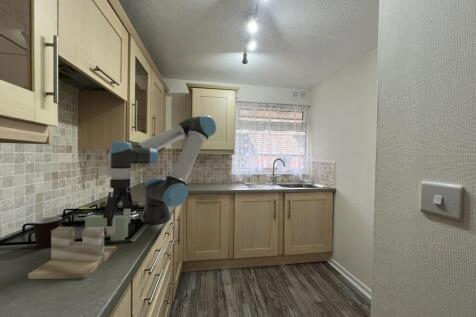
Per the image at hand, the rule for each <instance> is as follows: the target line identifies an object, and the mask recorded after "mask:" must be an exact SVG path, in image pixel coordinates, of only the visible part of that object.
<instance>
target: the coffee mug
mask: <svg viewBox="0 0 476 317" xmlns="http://www.w3.org/2000/svg"><path fill="white" fill-rule="evenodd" d="M62 220H63V217H62V216H47V217H42V218H37V219H35V220H33V221H32V227H33V233H34V238H35V244H36V248H37V249H46V248H51V230H53V229H56V228H58V227H62Z"/></svg>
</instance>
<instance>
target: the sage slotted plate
mask: <svg viewBox="0 0 476 317" xmlns="http://www.w3.org/2000/svg"><path fill="white" fill-rule="evenodd" d="M103 215H104V214H103ZM103 215H102V214H100V215H97V214H96V215H95V214H94V215H93V214H92V215H91V214H90V215H87V216H85V218H84V229H86V228H88V227H104V230H105V229H106V230H107V218H104V217H103ZM114 217H115V234H110V241H111V240H125V238H126V237H128V238H129V223H128V215H124V214H123V215H120V214H118V215H116V214H115V215H114ZM125 241H126V240H125Z"/></svg>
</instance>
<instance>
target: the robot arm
mask: <svg viewBox="0 0 476 317" xmlns="http://www.w3.org/2000/svg"><path fill="white" fill-rule="evenodd" d="M216 131H217V125H216V121H215V120H214V118H213V117H212V116H210V115H201V116H192V117H189V118H186V119H184V120H182V121H180V122H179V123H176V124H174V125H173V127H172V128H169V129H167V130H165V131H163V132H161V133H158V134H156V135H154V136H152V137H150V138H148V139H145V140H144V141H141V142H139V143H136V144H135V145H132V142H129V141H113V142H112V143H111V146H110V170H109V172H110V178H111V179H110V180H109V182H110V183H109V187H110V188H111V189H113V191H108V194H107V201H106V205H105V208H104V211H103V217H104V218H107V229H106V235H111V234H115V217H114V215H116V212H117V209H118V207H119V204H120V203H122V205H123V207H124V208H123V215H128V224H131V211H132V210H131V209H133V208H134V202H133V198H132V192H131V177H132V176H131V172H132V168H131V167H132V165H153V164H156V163H157V162H158V160H159V150H161V149H163V148H165V147H168V146H169V145H171V144H173V143H176V141H177V142H178V140H184V139H187V140H186V142H185V145H184V146H183V149H182V151H181V153H180V154H179V156H178V159H177V162H176V163H175V166H174V168H173V169H172V172H171V174H167V175H166V177H162V178H161V177H160V178H152V179H151V178H150V179H147V180H146V181H145V186H144V190H145V191H144V192H145V193H144V196H145V198H144V202H145V204H144V208H143V212H142V215H141V223H143V224H146V223H149V224H148V225H158V224H163V223H167V222H169V221H171V219H172V216H171V211H170V209H169V207H179V206H181V205H182V204H184V202H185V201H186V200H187V198H188V195H189V190H188V181H187V180H188V178H189V175H190V173H191V171H192V169H193V167H194V164H195V162H196V159H197V158H198V155H199V153H200V152H201V148H202V146H203V145H204V143H207V141H208V140H209V137H212V136H214V135H215V134H216Z"/></svg>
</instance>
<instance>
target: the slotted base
mask: <svg viewBox="0 0 476 317" xmlns="http://www.w3.org/2000/svg"><path fill="white" fill-rule="evenodd" d="M75 229H76V228H75V227H73V226H70V227H69V226H68V227H67V226H65V227H64V226H63V227H62V226H61V227H58V228H56V229H53V230H51V247H50V248H51V250H50V256H51V257H50V260H49V261H47V262H45V263H44V264H42V265H40V266H39V267H37V268H35V269H34V270H32V271H30V272H29V273H27V279H28V280H40V279H41V280H47V279H49V280H51V279H54V280H55V279H59V280H61V279H87V277H88V276H90V275H91V274H92V273H93V272H94V271H95V270H96V269H98V268H99V267H100V266H101V265H102V264H103V263H104V262H106V261H107V260H108V258H110V257H111V256H113V255H114V254H115V253H116V252H117V251H118V250H117V248H118V247H117V246H114V245H113V246H106V245H105V229H104V227H88V228H86V229H85V228H84V229H83V230H82V233H81V234H82V237H81V238H82V241H75V237H76V236H75V234H76V230H75Z"/></svg>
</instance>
